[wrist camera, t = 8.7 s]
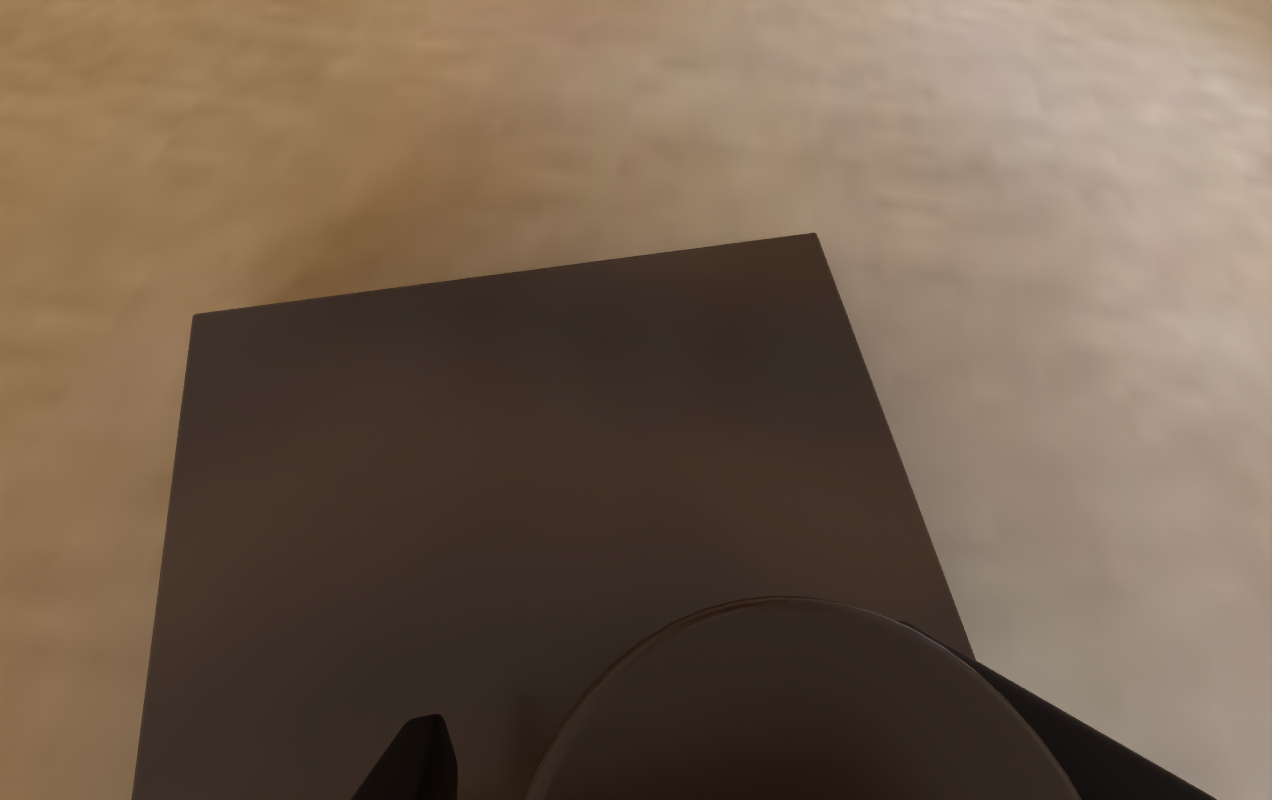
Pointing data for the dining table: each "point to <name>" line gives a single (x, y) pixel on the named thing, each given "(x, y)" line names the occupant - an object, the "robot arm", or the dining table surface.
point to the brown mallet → (794, 716)
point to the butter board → (504, 507)
